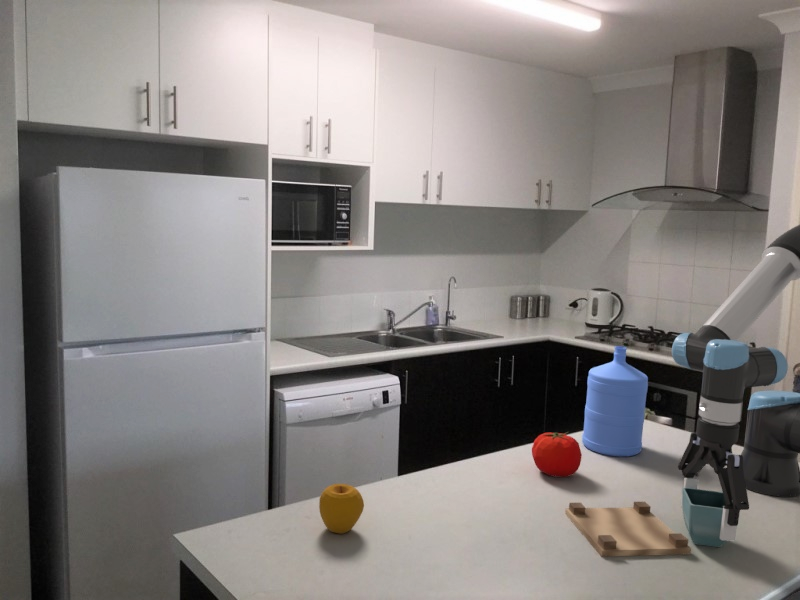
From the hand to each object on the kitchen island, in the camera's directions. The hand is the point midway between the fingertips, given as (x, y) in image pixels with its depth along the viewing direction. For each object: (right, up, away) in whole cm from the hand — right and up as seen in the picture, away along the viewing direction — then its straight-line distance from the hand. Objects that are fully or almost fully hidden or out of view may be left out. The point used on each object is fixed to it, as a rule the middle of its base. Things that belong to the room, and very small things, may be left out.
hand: (706, 523), depth 139 cm
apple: (-73, -1, -2) cm, 73 cm away
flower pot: (0, -4, +1) cm, 4 cm away
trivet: (-16, -3, +2) cm, 16 cm away
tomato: (-23, +2, +32) cm, 40 cm away
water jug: (-3, +4, +53) cm, 53 cm away
